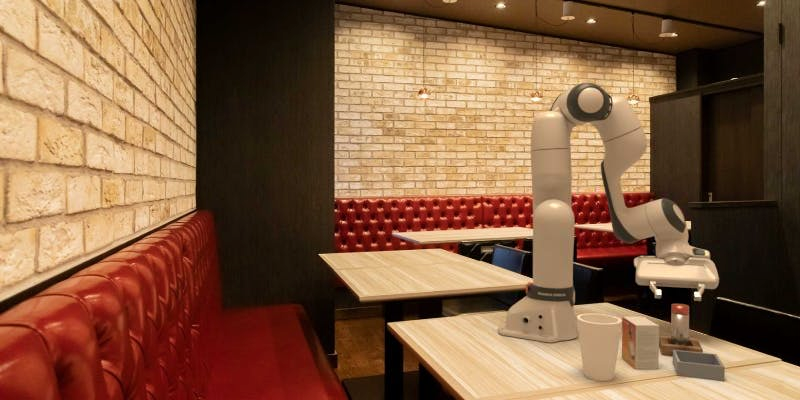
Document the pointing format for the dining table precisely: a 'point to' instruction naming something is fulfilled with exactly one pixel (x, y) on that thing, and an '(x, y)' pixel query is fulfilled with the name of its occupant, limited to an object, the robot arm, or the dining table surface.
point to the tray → (698, 365)
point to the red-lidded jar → (680, 324)
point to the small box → (640, 342)
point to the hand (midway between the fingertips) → (677, 298)
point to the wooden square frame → (677, 346)
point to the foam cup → (599, 344)
